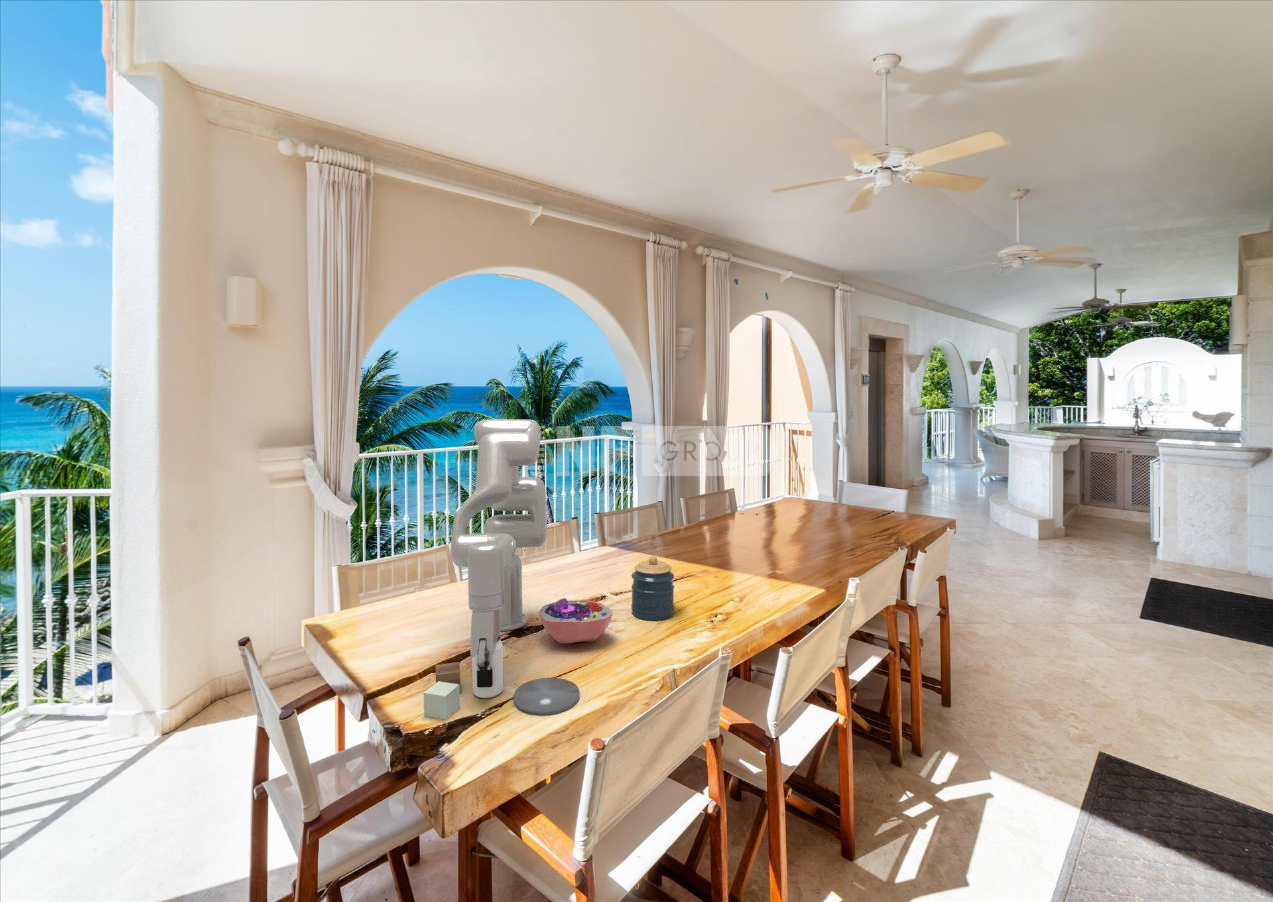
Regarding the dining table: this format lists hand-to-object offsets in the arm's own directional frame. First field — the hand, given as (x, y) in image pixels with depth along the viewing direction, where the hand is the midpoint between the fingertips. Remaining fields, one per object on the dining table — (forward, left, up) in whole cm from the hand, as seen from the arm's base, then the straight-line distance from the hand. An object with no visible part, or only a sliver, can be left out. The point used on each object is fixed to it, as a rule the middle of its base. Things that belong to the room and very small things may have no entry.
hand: (487, 677), depth 124 cm
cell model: (-26, +19, -4) cm, 32 cm away
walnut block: (-2, -9, -3) cm, 10 cm away
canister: (-45, +41, -4) cm, 61 cm away
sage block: (+7, -8, -3) cm, 11 cm away
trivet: (+3, +13, -3) cm, 14 cm away
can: (0, 0, -3) cm, 3 cm away
